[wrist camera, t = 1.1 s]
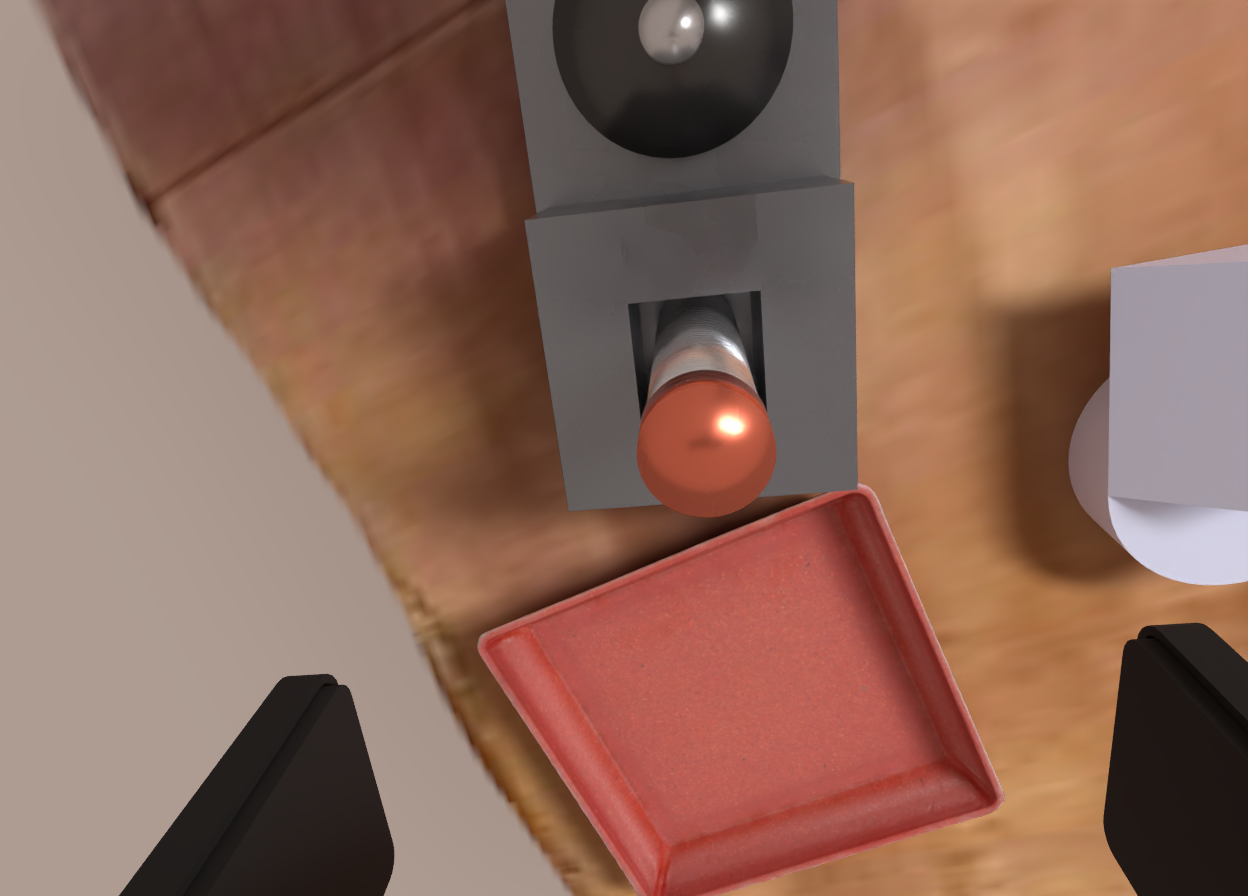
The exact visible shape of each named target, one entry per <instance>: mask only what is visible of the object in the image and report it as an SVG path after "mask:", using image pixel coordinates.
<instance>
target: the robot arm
mask: <svg viewBox="0 0 1248 896" xmlns="http://www.w3.org/2000/svg"><path fill="white" fill-rule="evenodd" d="M1104 831H1105V835H1106V839H1107V842H1108V845H1109V847H1110V850H1111V852H1112V854H1113V855H1114V857H1115V859H1116V861H1117V862H1118V864H1119V865H1120V867H1121V869H1122V870H1123V872H1124V874H1125V875H1126V877H1127V879H1128V880H1129V882H1130V884H1131V885H1132V887H1133V888H1134V890H1135V892H1136V893H1137V895H1138V896H1248V662H1247V661H1246V660H1244V659H1243V658H1242V657H1241V656H1240V655H1239V654H1238V653H1237V652H1236V651H1235V650H1234V649H1232V648H1231V647H1230V646H1229V645H1228V644H1227V643H1226V642H1225V641H1224V640H1223V639H1221V638H1220V637H1219V636H1218V635H1217V634H1216V633H1215V632H1214V631H1213V630H1212V629H1210V628H1209V627H1207V626H1206V625H1204V624H1201V623H1185V624H1168V625H1151V626H1146V627H1144V628H1142V629H1141V631H1140V632H1139V634H1138V638H1137V639H1133V640H1129V641H1127V643H1126V644H1125V646H1124V650H1123V657H1122V665H1121V674H1120V682H1119V691H1118V699H1117V707H1116V716H1115V724H1114V733H1113V741H1112V750H1111V758H1110V767H1109V775H1108V784H1107V792H1106V801H1105V809H1104ZM393 865H394V847H393V841H392V838H391V834H390V830H389V827H388V823H387V820H386V816H385V813H384V809H383V806H382V802H381V798H380V795H379V791H378V787H377V784H376V780H375V777H374V773H373V770H372V766H371V763H370V759H369V755H368V752H367V748H366V745H365V741H364V737H363V734H362V730H361V727H360V723H359V720H358V716H357V712H356V709H355V705H354V702H353V698H352V695H351V692H350V690H349V688H348V687H347V686H345V685H338V683H337V680H336V679H335V678H334V677H333V676H332V675H329V674H318V675H302V676H287V677H284V678H282V679H281V680H280V681H279V682H278V683H277V684H276V686H275V687H274V688H273V690H272V691H271V692H270V694H269V695H268V696H267V698H266V699H265V700H264V702H263V703H262V705H261V706H260V707H259V709H258V710H257V711H256V713H255V714H254V715H253V717H252V718H251V719H250V721H249V722H248V723H247V725H246V726H245V727H244V729H243V730H242V731H241V733H240V734H239V735H238V737H237V738H236V739H235V741H234V742H233V744H232V745H231V746H230V747H229V749H228V750H227V752H226V753H225V754H224V755H223V757H222V758H221V759H220V761H219V762H218V764H217V765H216V766H215V768H214V769H213V770H212V772H211V773H210V774H209V776H208V777H207V778H206V780H205V781H204V782H203V784H202V785H201V786H200V788H199V789H198V791H197V792H196V793H195V794H194V796H193V797H192V799H191V800H190V801H189V802H188V804H187V805H186V807H185V808H184V809H183V810H182V812H181V813H180V815H179V816H178V817H177V819H176V820H175V821H174V823H173V824H172V825H171V827H170V828H169V829H168V831H167V832H166V833H165V835H164V836H163V837H162V839H161V840H160V841H159V843H158V844H157V846H156V847H155V848H154V849H153V851H152V852H151V854H150V855H149V856H148V858H147V859H146V860H145V862H144V863H143V864H142V866H141V867H140V868H139V870H138V871H137V872H136V874H135V875H134V876H133V878H132V879H131V880H130V882H129V883H128V884H127V886H126V887H125V889H124V890H123V891H122V892H121V894H120V895H119V896H384V893H385V890H386V888H387V886H388V883H389V881H390V878H391V875H392V871H393Z"/></svg>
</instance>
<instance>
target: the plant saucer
mask: <svg viewBox="0 0 1248 896" xmlns="http://www.w3.org/2000/svg"><path fill="white" fill-rule="evenodd" d="M477 650H478V652H479V654H480V656H481V658H482V659H483V661H484V662H485V664H486V665H487V667H488V669H489V670H490V671H491V673H492V674H493V676H494V677H495V679H496V680H497V682H498V683H499V685H500V686H501V688H502V689H503V691H504V693H505V694H506V696H507V697H508V698H509V700H510V701H511V703H512V705H513V706H514V708H515V709H516V710H517V712H518V713H519V715H520V716H521V718H522V719H523V721H524V723H525V724H526V725H527V727H528V728H529V730H530V732H531V733H532V734H533V736H534V737H535V739H536V741H537V742H538V744H539V745H540V747H541V748H542V750H543V751H544V753H545V754H546V756H547V757H548V759H549V760H550V762H551V764H552V765H553V766H554V768H555V769H556V771H557V772H558V774H559V776H560V777H561V779H562V780H563V782H564V783H565V785H566V786H567V787H568V789H569V790H570V792H571V794H572V795H573V797H574V798H575V799H576V801H577V803H578V805H579V806H580V808H581V809H582V811H583V812H584V813H585V815H586V816H587V817H588V819H589V821H590V823H591V824H592V826H593V827H594V829H595V830H596V832H597V833H598V834H599V836H600V837H601V839H602V840H603V842H604V844H605V845H606V847H607V849H608V850H609V852H610V853H611V854H612V856H613V857H614V858H615V860H616V862H617V864H618V865H619V867H620V868H621V870H622V871H623V873H624V874H625V876H626V877H627V879H628V881H629V882H630V884H631V885H632V887H633V888H634V889H635V891H636V893H637V894H638V896H718V895H721V894H725V893H728V892H731V891H735V890H739V889H742V888H745V887H748V886H751V885H754V884H757V883H761V882H765V881H768V880H772V879H775V878H779V877H781V876H784V875H787V874H790V873H794V872H797V871H800V870H804V869H809V868H812V867H815V866H818V865H821V864H823V863H826V862H830V861H834V860H839V859H842V858H845V857H848V856H851V855H854V854H857V853H860V852H864V851H867V850H870V849H873V848H877V847H881V846H883V845H887V844H890V843H893V842H897V841H900V840H904V839H908V838H911V837H913V836H916V835H919V834H923V833H927V832H930V831H934V830H937V829H940V828H943V827H946V826H949V825H953V824H957V823H962V822H965V821H967V820H970V819H973V818H977V817H981V816H984V815H987V814H990V813H992V812H994V811H996V810H997V809H998V808H999V807H1000V806H1001V804H1002V803H1003V801H1004V800H1005V796H1004V792H1003V790H1002V787H1001V785H1000V783H999V781H998V779H997V776H996V774H995V771H994V768H993V766H992V764H991V762H990V760H989V757H988V755H987V753H986V751H985V749H984V746H983V744H982V742H981V739H980V737H979V734H978V732H977V730H976V727H975V725H974V723H973V720H972V718H971V716H970V713H969V711H968V709H967V706H966V704H965V702H964V700H963V697H962V695H961V693H960V690H959V688H958V686H957V683H956V681H955V679H954V677H953V674H952V672H951V669H950V667H949V664H948V662H947V660H946V658H945V656H944V654H943V651H942V649H941V646H940V643H939V641H938V639H937V637H936V635H935V632H934V629H933V627H932V625H931V623H930V621H929V618H928V616H927V614H926V612H925V609H924V607H923V604H922V602H921V600H920V597H919V595H918V593H917V590H916V588H915V586H914V584H913V581H912V579H911V577H910V574H909V571H908V569H907V566H906V564H905V562H904V560H903V558H902V555H901V553H900V550H899V548H898V545H897V543H896V541H895V539H894V536H893V534H892V532H891V529H890V527H889V524H888V522H887V520H886V518H885V515H884V513H883V510H882V507H881V504H880V502H879V500H878V498H877V496H876V494H875V492H874V491H873V490H872V489H871V488H870V487H869V486H867V485H865V484H863V483H858V490H849V491H835V492H826V493H823V494H821V495H818V496H816V497H813V498H811V499H808V500H806V501H804V502H801V503H799V504H796V505H794V506H791V507H789V508H786V509H784V510H781V511H779V512H776V513H774V514H771V515H769V516H766V517H764V518H761V519H759V520H756V521H754V522H751V523H749V524H746V525H744V526H741V527H739V528H736V529H734V530H732V531H729V532H727V533H724V534H722V535H719V536H717V537H715V538H712V539H710V540H707V541H705V542H702V543H700V544H697V545H695V546H693V547H690V548H688V549H686V550H683V551H681V552H678V553H676V554H673V555H671V556H669V557H666V558H664V559H661V560H659V561H656V562H654V563H652V564H649V565H647V566H644V567H642V568H640V569H637V570H635V571H633V572H630V573H628V574H625V575H623V576H620V577H618V578H616V579H613V580H611V581H608V582H606V583H604V584H601V585H599V586H596V587H594V588H591V589H589V590H587V591H584V592H582V593H579V594H577V595H574V596H572V597H569V598H567V599H564V600H562V601H560V602H557V603H555V604H552V605H550V606H547V607H545V608H542V609H540V610H537V611H535V612H532V613H530V614H527V615H525V616H523V617H520V618H518V619H515V620H513V621H510V622H508V623H505V624H503V625H501V626H498V627H496V628H493V629H491V630H489V631H486V632H485V633H483V634H482V635H481V636H480V637H479V639H478V644H477Z"/></svg>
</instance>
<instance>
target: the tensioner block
mask: <svg viewBox="0 0 1248 896" xmlns="http://www.w3.org/2000/svg"><path fill="white" fill-rule="evenodd" d="M505 2H506V9H507V16H508V23H509V29H510V36H511V43H512V50H513V57H514V64H515V70H516V77H517V84H518V91H519V98H520V104H521V111H522V118H523V125H524V132H525V139H526V145H527V152H528V159H529V166H530V173H531V180H532V186H533V193H534V200H535V207H536V214H535V215H533V216H531V217H529V218H528V219H526V220H524V222H525V228H526V235H527V241H528V248H529V254H530V261H531V268H532V274H533V281H534V287H535V294H536V300H537V307H538V314H539V320H540V327H541V333H542V340H543V346H544V353H545V360H546V366H547V373H548V379H549V386H550V392H551V399H552V406H553V412H554V419H555V425H556V432H557V438H558V445H559V452H560V458H561V465H562V471H563V478H564V484H565V491H566V498H567V504H568V511H581V510H595V509H608V508H621V507H635V506H648V505H662V503H661V502H660V501H659V500H658V499H657V498H655V497H654V495H653V494H652V493H651V492H650V491H649V489H648V488H647V486H646V485H645V483H644V481H643V479H642V477H641V475H640V472H639V469H638V463H637V443H638V436H639V429H640V422H641V418H642V414H643V411H644V409H645V406H646V405H647V399H648V392H649V384H650V376H651V369H652V361H653V353H654V346H655V338H656V330H657V323H658V318H659V315H660V312H661V310H662V308H663V306H664V305H665V304H666V302H667V301H668V300H670V299H680V298H690V297H700V296H710V295H720V296H721V297H723V298H724V299H725V300H726V301H727V303H728V304H729V305H730V307H731V309H732V311H733V313H734V316H735V320H736V323H737V326H738V330H739V333H740V337H741V340H742V344H743V347H744V350H745V354H746V357H747V361H748V364H749V367H750V371H751V374H752V378H753V381H754V384H755V388H756V391H757V395H758V396H759V397H760V399H761V400H762V402H763V404H764V406H765V408H766V411H767V414H768V417H769V420H770V424H771V427H772V430H773V433H774V437H775V441H776V463H775V467H774V471H773V474H772V476H771V478H770V480H769V482H768V484H767V485H766V487H765V489H764V490H763V491H762V492H761V493H760V495H759V496H758V497H769V496H782V495H795V494H809V493H822V492H835V491H849V490H858V472H857V390H856V309H855V227H854V183H852V182H849V181H845V180H841V179H840V127H839V71H838V15H837V0H505Z"/></svg>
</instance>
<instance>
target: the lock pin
mask: <svg viewBox="0 0 1248 896" xmlns="http://www.w3.org/2000/svg"><path fill="white" fill-rule="evenodd" d="M637 463H638V469H639V472H640V475H641V477H642V479H643V481H644V483H645V485H646V486H647V488H648V489H649V491H650V492H651V493H652V494H653V495H654V497H655V498H657V499H658V500H659V501H660V502H661V503H662V504H664V505H665V506H667V507H668V508H670V509H672V510H674V511H676V512H679V513H682V514H685V515H689V516H693V517H702V518H705V517H718V516H723V515H727V514H730V513H733V512H735V511H738V510H740V509H741V508H743V507H745V506H747V505H748V504H749V503H751V502H752V501H753V500H754V499H755V498H757V497H758V496H759V495H760V493H761V492H762V491H763V490H764V489H765V487H766V485H767V484H768V482H769V480H770V478H771V476H772V474H773V471H774V467H775V463H776V441H775V437H774V433H773V430H772V427H771V424H770V420H769V417H768V414H767V411H766V408H765V406H764V404H763V402H762V400H761V399H760V397H759V396H758V395H757V391H756V388H755V384H754V381H753V378H752V374H751V371H750V367H749V364H748V361H747V357H746V354H745V350H744V347H743V344H742V340H741V337H740V333H739V330H738V326H737V323H736V320H735V316H734V313H733V311H732V309H731V307H730V305H729V304H728V303H727V301H726V300H725V299H724V298H723V297H721V296H720V295H710V296H700V297H690V298H680V299H670V300H668V301H667V302H666V304H665V305H664V306H663V308H662V310H661V312H660V315H659V318H658V323H657V330H656V338H655V346H654V353H653V361H652V369H651V376H650V384H649V392H648V399H647V405H646V406H645V409H644V411H643V414H642V418H641V422H640V429H639V436H638V443H637Z"/></svg>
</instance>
